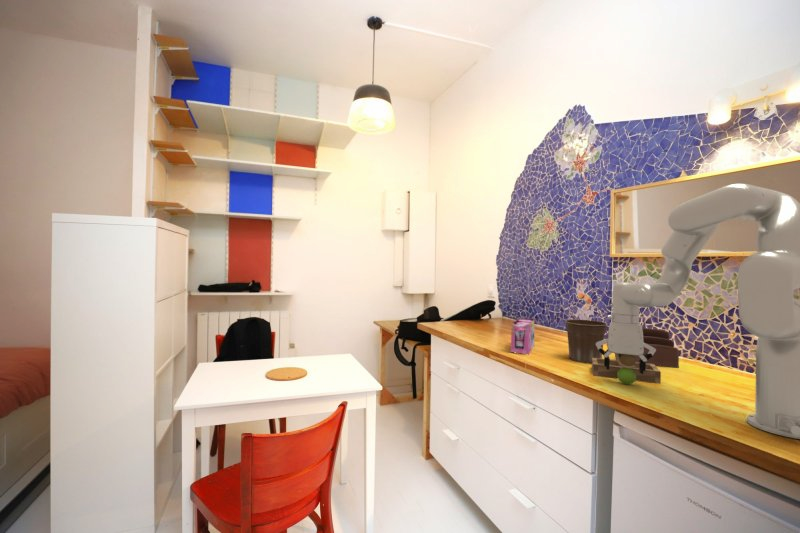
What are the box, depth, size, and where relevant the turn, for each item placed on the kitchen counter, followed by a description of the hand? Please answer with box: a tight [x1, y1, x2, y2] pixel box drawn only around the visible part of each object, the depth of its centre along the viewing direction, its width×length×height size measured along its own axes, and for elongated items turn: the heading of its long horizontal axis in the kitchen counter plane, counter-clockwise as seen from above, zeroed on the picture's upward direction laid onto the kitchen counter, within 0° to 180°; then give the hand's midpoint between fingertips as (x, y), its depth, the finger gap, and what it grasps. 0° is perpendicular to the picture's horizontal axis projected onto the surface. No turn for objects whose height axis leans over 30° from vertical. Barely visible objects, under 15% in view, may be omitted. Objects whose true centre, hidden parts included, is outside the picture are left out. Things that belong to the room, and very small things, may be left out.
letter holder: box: [619, 327, 680, 369], centre depth 153 cm, size 10×20×14 cm, turn 74°
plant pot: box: [564, 318, 608, 364], centre depth 156 cm, size 16×16×16 cm
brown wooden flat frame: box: [591, 357, 662, 384], centre depth 134 cm, size 12×20×4 cm, turn 65°
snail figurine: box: [614, 353, 636, 385], centre depth 123 cm, size 5×6×12 cm
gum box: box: [510, 317, 536, 355], centre depth 175 cm, size 24×8×14 cm, turn 154°
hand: (624, 370), depth 124 cm, fingers open, 9 cm apart
